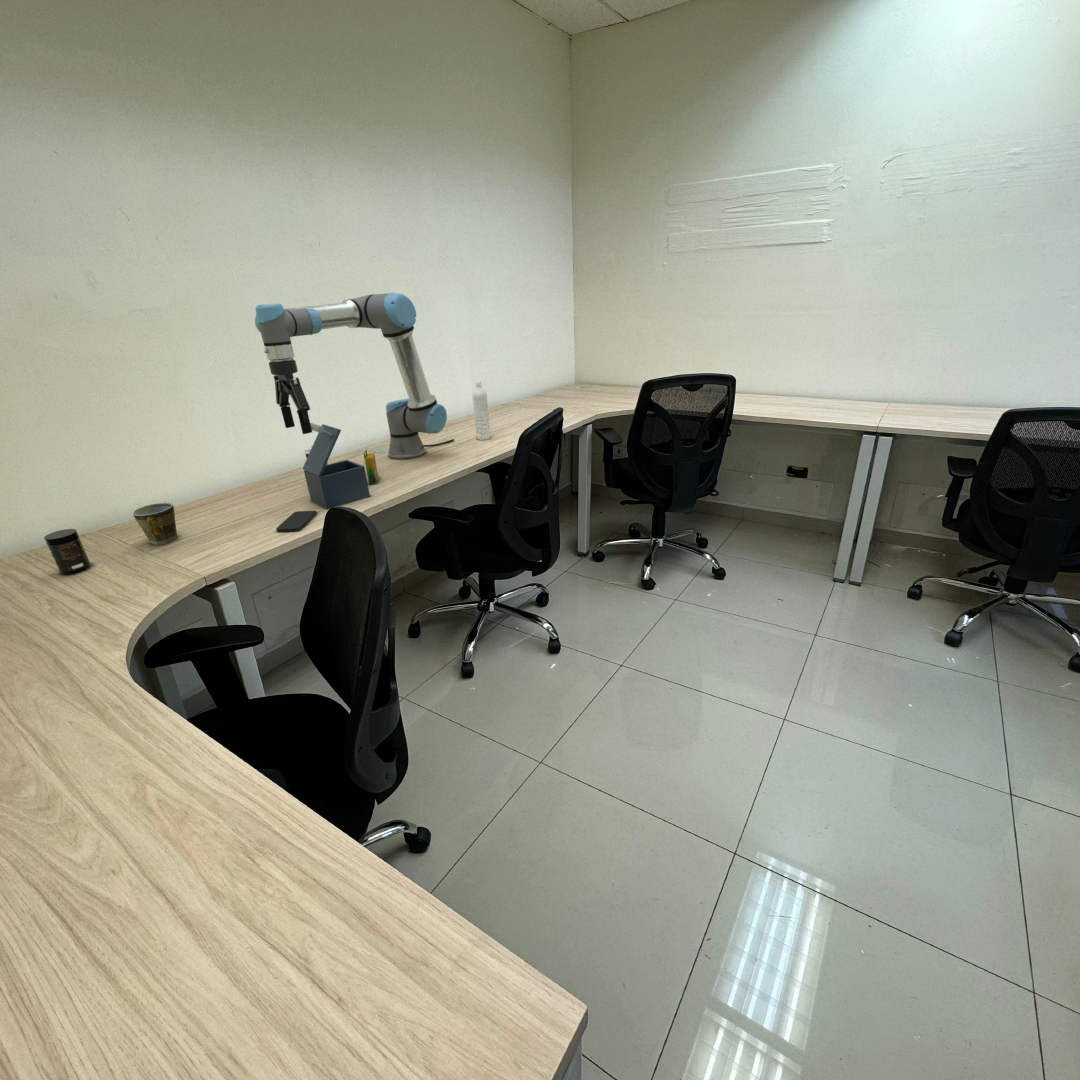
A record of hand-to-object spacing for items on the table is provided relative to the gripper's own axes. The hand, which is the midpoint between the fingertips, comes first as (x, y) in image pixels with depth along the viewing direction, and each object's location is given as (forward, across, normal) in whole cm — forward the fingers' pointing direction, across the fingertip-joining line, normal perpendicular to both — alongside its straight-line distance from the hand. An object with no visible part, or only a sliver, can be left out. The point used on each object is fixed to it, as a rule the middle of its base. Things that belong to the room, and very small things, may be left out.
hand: (298, 430), depth 174 cm
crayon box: (+26, -8, +25) cm, 37 cm away
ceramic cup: (+25, -7, -44) cm, 51 cm away
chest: (+26, 0, +8) cm, 27 cm away
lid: (+8, 0, +6) cm, 10 cm away
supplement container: (+25, -5, -65) cm, 70 cm away
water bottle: (+27, -25, +91) cm, 98 cm away
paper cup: (+26, -21, +11) cm, 35 cm away
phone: (+25, +10, -11) cm, 29 cm away
